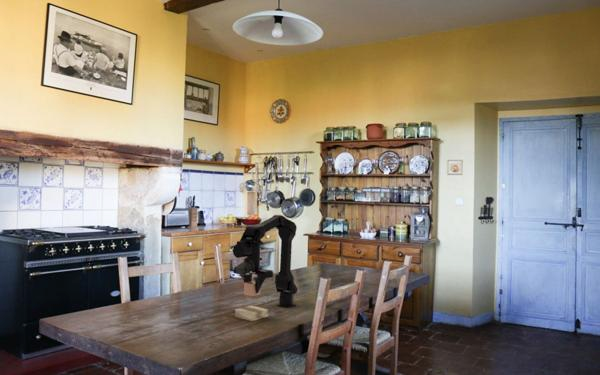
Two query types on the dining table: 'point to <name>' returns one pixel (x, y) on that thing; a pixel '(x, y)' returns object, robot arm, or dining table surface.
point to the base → (251, 313)
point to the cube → (250, 289)
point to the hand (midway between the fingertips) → (252, 292)
